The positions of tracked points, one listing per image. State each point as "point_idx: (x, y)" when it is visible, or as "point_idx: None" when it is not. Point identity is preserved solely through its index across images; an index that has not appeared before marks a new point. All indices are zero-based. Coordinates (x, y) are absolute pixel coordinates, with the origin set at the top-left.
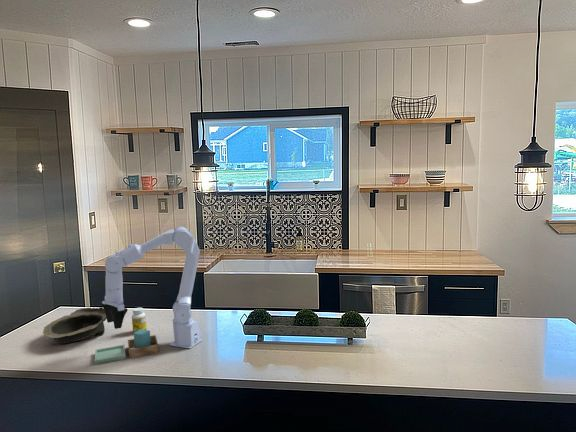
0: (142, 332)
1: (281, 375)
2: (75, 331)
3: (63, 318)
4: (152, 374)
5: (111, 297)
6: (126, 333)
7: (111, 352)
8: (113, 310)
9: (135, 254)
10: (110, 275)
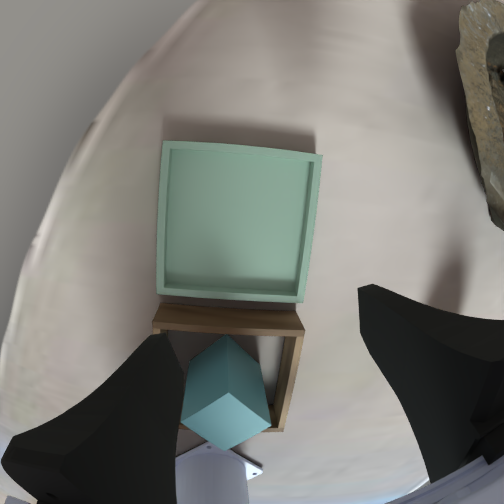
0: (215, 427)
1: (3, 484)
2: (486, 88)
3: None
4: (7, 342)
5: None
6: (450, 307)
7: (263, 230)
8: (35, 483)
9: None
10: None
